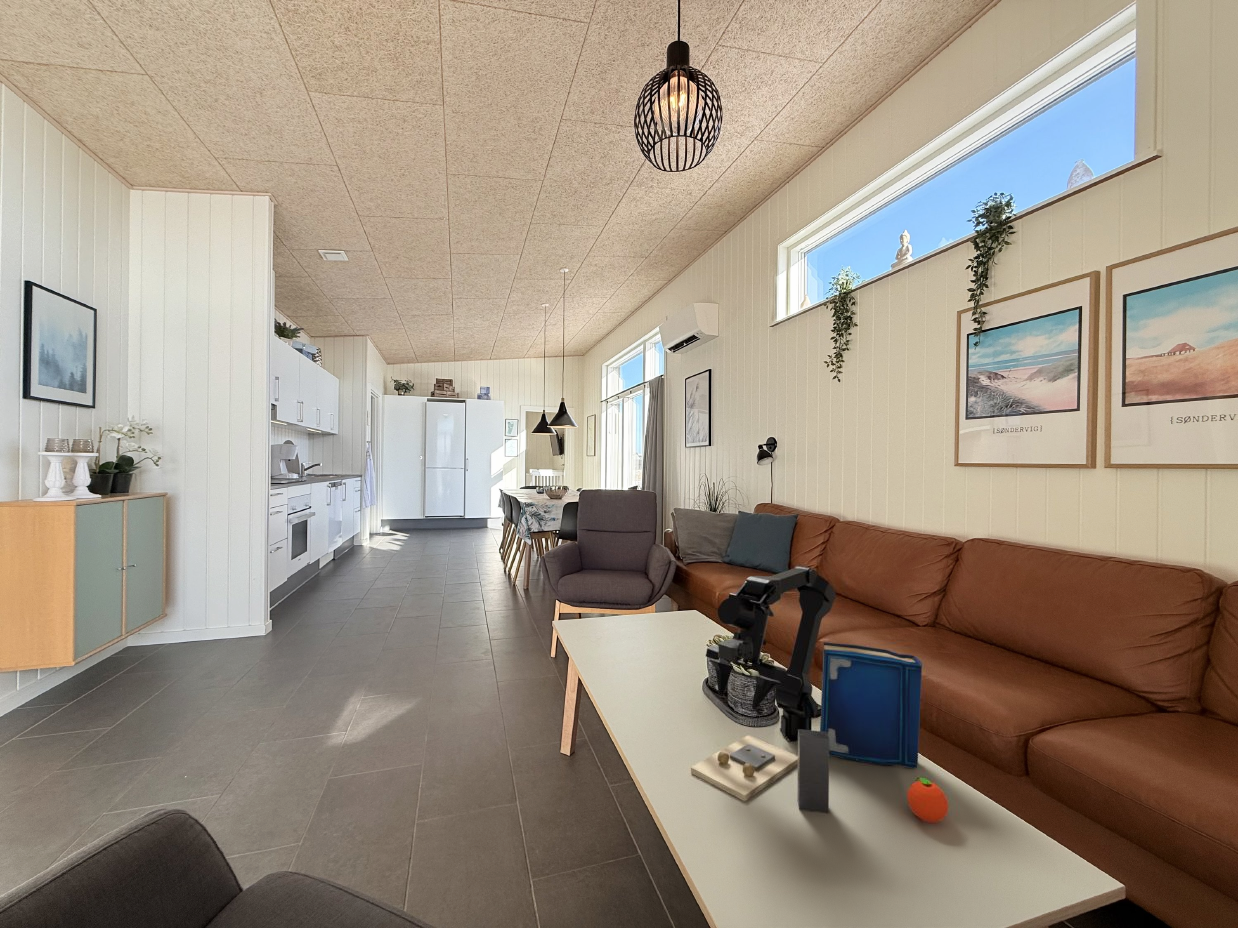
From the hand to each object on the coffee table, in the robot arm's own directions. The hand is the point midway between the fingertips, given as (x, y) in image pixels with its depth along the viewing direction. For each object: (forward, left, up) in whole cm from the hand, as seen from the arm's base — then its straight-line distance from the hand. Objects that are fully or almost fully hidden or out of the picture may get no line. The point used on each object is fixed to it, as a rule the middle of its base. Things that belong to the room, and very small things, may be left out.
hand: (736, 702), depth 124 cm
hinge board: (-3, 0, -15) cm, 15 cm away
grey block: (-11, +14, -15) cm, 23 cm away
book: (-33, -1, -15) cm, 36 cm away
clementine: (-31, +21, -15) cm, 40 cm away
